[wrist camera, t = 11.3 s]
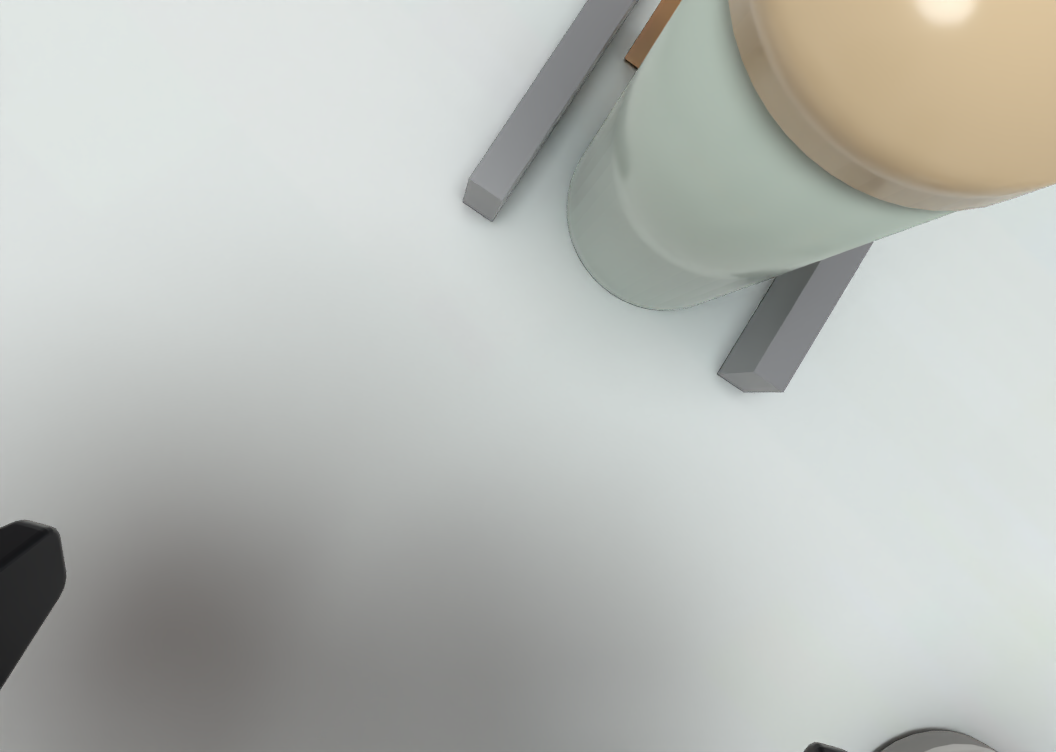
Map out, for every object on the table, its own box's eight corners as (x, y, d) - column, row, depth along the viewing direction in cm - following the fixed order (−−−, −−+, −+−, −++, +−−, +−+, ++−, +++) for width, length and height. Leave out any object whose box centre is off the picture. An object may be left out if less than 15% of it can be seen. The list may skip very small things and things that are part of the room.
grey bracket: (744, 392, 24) (828, 392, 19) (462, 201, 22) (476, 150, 18) (942, 65, 25) (1068, -13, 20) (683, -132, 24) (752, -263, 19)
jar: (678, 355, 23) (1056, 284, 9) (521, 222, 23) (673, -63, 9) (798, 203, 24) (1321, -77, 10) (648, 70, 23) (977, -417, 9)
